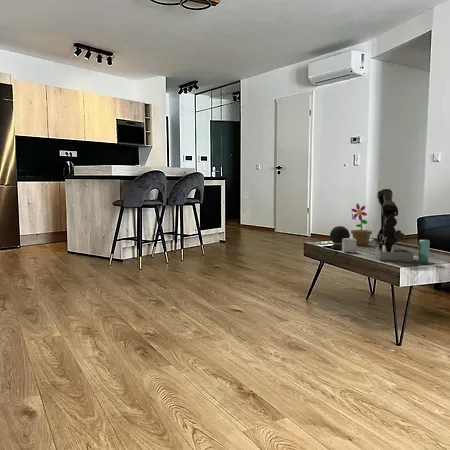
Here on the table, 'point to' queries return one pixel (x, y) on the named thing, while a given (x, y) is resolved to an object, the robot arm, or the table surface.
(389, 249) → the robot arm
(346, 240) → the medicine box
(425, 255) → the teal tin
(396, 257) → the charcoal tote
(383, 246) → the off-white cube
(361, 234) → the flowerpot
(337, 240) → the black round ball shape
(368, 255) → the table surface
